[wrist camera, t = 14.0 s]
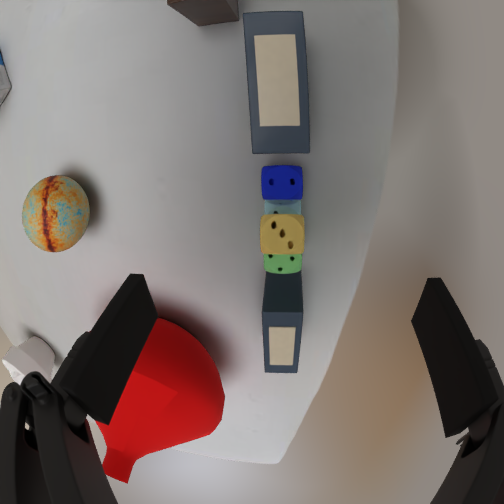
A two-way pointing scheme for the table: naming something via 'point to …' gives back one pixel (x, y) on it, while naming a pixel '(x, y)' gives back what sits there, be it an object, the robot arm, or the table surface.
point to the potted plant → (29, 359)
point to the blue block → (279, 141)
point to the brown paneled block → (207, 10)
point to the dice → (282, 219)
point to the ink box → (3, 81)
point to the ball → (55, 213)
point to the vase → (163, 400)
